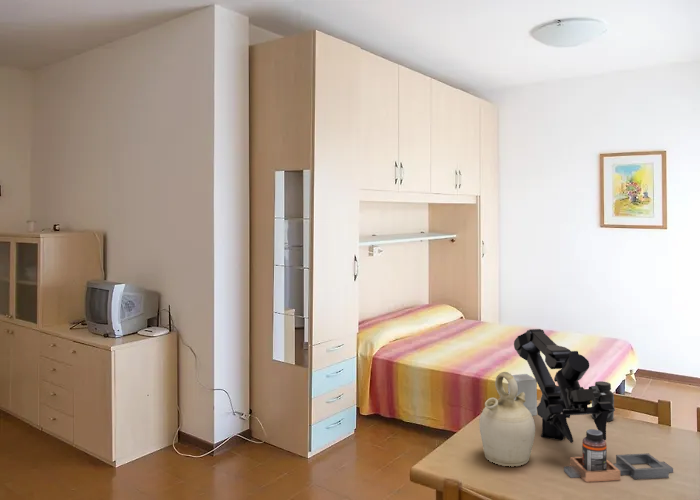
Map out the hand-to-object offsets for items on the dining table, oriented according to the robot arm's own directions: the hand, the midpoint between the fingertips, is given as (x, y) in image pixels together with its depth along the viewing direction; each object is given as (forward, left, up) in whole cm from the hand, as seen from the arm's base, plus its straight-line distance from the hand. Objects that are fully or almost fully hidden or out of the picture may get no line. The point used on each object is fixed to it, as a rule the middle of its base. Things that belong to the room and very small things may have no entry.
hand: (588, 441), depth 155 cm
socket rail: (+7, +1, -7) cm, 10 cm away
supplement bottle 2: (+2, -3, -8) cm, 8 cm away
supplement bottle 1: (0, +40, -8) cm, 41 cm away
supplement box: (-25, +34, -8) cm, 43 cm away
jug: (-21, -4, -8) cm, 23 cm away
